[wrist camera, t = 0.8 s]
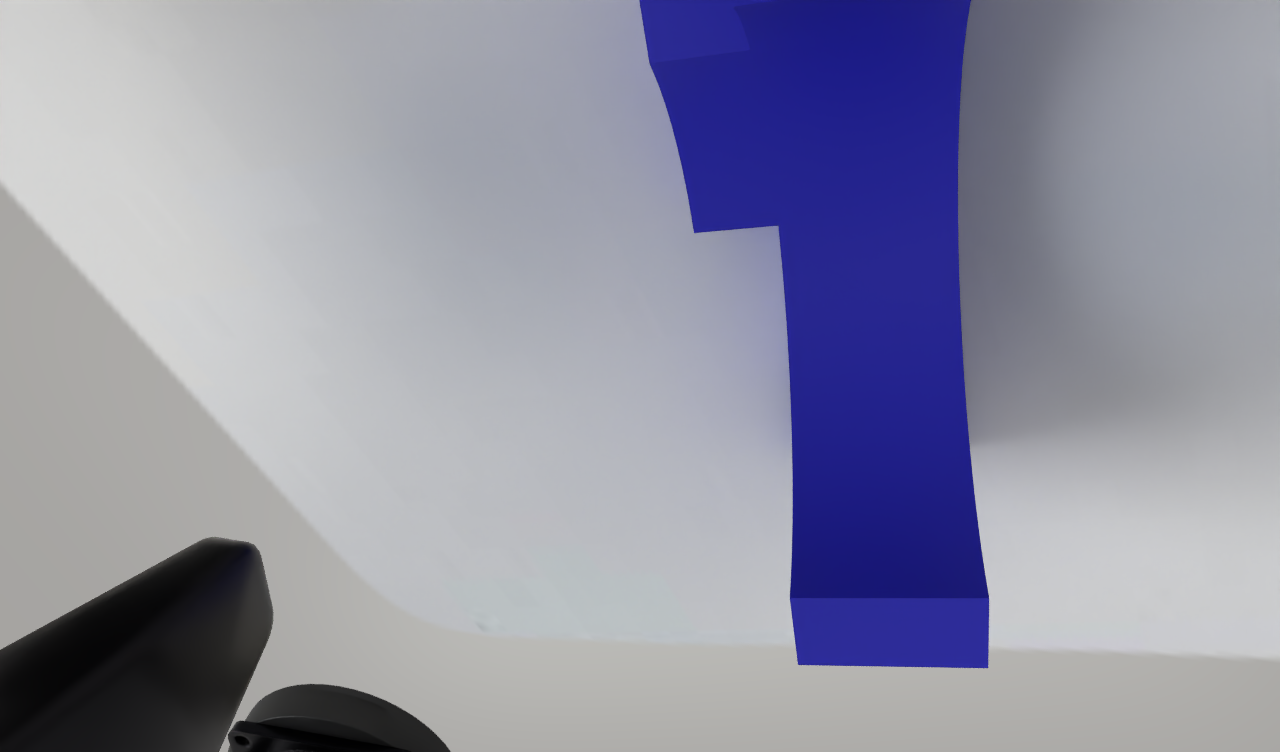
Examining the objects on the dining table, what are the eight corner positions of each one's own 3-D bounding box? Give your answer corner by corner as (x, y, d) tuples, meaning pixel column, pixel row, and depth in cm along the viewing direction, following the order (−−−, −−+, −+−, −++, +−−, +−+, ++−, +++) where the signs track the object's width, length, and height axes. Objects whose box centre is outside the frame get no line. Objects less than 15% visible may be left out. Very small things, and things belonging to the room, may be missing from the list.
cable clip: (653, -149, 16) (564, -115, 11) (945, -204, 15) (1000, -194, 10) (740, 457, 22) (709, 663, 16) (952, 449, 20) (988, 667, 15)
